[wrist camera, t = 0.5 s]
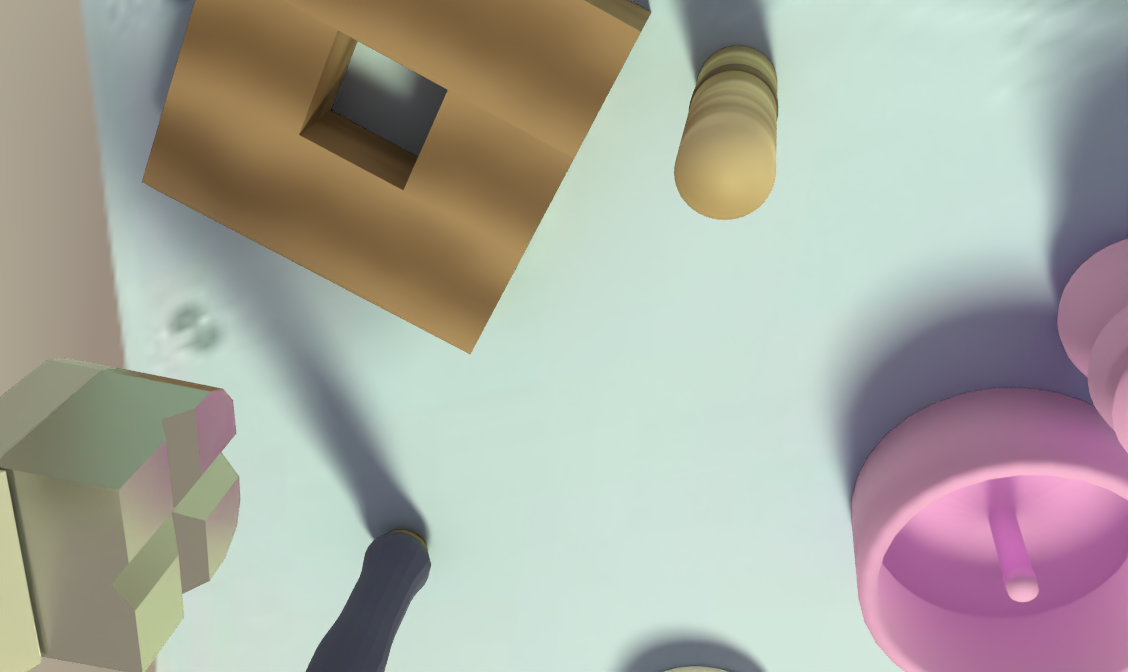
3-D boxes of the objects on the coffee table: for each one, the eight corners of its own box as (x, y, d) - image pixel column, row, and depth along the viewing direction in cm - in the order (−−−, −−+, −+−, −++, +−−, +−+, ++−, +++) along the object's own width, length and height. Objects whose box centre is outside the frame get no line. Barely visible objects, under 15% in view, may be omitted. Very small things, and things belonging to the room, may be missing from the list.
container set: (1068, 654, 60) (1135, 862, 49) (809, 569, 61) (815, 755, 49) (1339, 273, 48) (1514, 432, 37) (1012, 170, 48) (1083, 296, 37)
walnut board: (289, -190, 47) (249, -186, 43) (651, 12, 48) (640, 31, 44) (181, 156, 55) (141, 182, 52) (489, 318, 57) (470, 354, 53)
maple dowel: (722, 29, 48) (705, 103, 37) (794, 69, 48) (797, 154, 37) (681, 100, 49) (654, 190, 39) (751, 139, 50) (742, 238, 39)
